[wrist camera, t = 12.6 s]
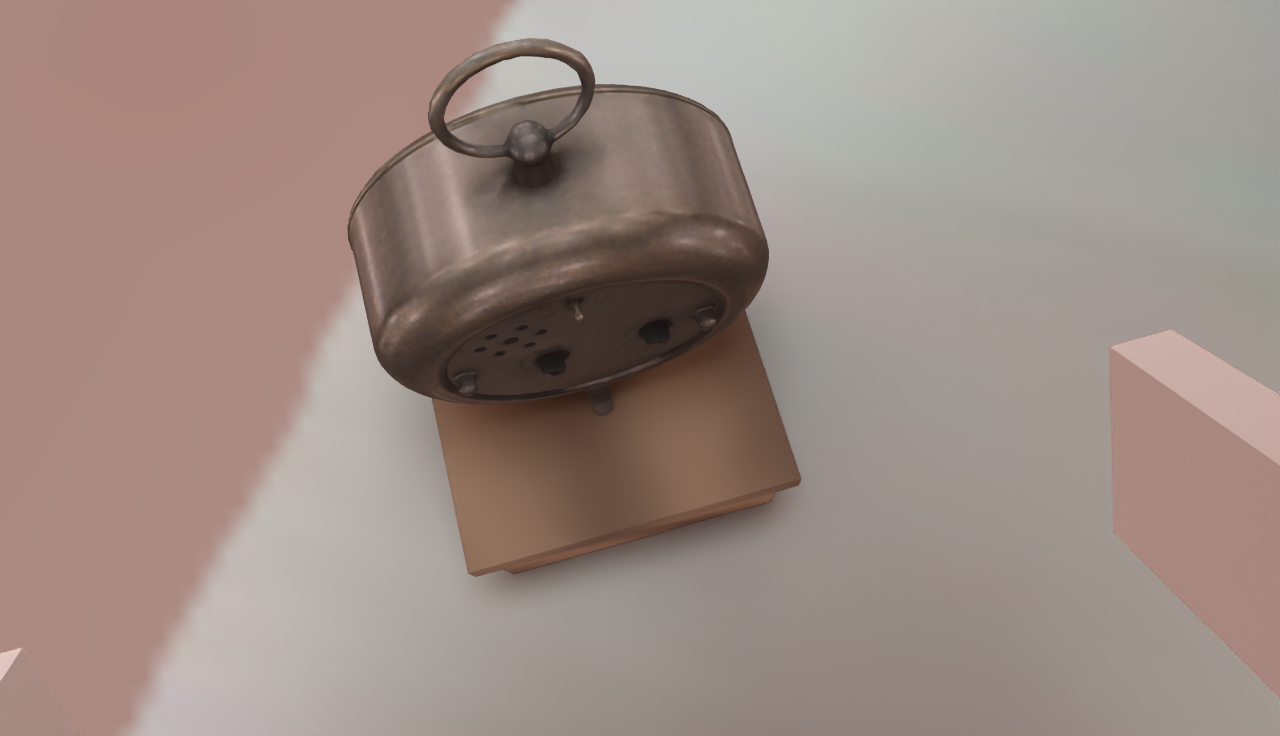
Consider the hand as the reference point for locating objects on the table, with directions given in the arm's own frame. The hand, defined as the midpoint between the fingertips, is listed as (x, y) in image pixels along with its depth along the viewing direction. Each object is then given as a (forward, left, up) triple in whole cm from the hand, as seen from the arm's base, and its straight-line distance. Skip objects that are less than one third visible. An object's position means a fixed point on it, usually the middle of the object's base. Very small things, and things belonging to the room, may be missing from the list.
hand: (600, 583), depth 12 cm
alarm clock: (0, -10, -19) cm, 22 cm away
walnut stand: (0, -10, -24) cm, 26 cm away
